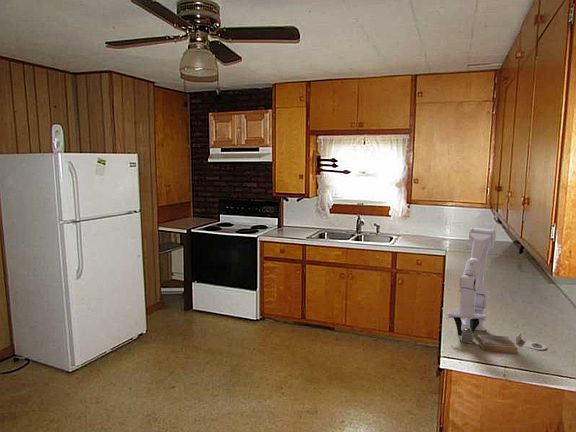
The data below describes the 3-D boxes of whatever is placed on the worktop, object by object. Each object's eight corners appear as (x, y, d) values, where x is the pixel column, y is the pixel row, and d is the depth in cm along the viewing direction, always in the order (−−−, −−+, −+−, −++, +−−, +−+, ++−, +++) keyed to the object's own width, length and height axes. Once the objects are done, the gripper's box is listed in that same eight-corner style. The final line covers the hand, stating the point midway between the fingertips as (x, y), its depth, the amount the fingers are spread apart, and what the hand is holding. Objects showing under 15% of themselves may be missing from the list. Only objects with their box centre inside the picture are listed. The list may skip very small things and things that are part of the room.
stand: (476, 339, 169) (477, 333, 169) (507, 341, 167) (508, 336, 167) (483, 350, 160) (484, 344, 159) (517, 353, 158) (517, 347, 157)
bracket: (544, 353, 159) (545, 344, 158) (515, 345, 165) (516, 336, 165) (548, 347, 163) (548, 339, 163) (519, 339, 170) (520, 331, 170)
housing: (457, 334, 173) (458, 323, 173) (467, 334, 173) (468, 323, 172) (461, 342, 166) (462, 330, 165) (472, 343, 165) (473, 331, 164)
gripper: (450, 306, 164) (448, 337, 166) (489, 308, 162) (486, 341, 164) (447, 299, 171) (445, 330, 173) (484, 302, 169) (481, 333, 171)
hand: (464, 335), depth 169 cm, fingers closed on housing, 4 cm apart
